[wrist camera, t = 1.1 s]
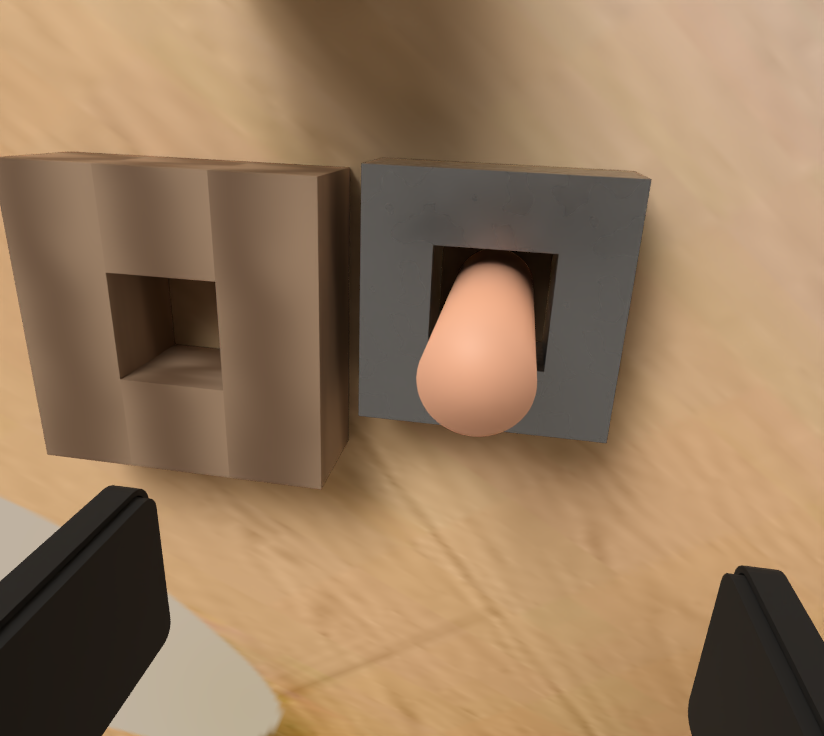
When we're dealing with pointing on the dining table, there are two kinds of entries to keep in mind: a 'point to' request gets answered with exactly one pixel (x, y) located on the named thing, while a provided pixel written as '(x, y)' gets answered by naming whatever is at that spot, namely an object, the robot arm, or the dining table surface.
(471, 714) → the dining table surface
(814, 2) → the dining table surface
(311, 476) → the socket block
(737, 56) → the dining table surface
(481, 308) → the pin
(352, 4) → the dining table surface
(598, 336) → the pin mount
